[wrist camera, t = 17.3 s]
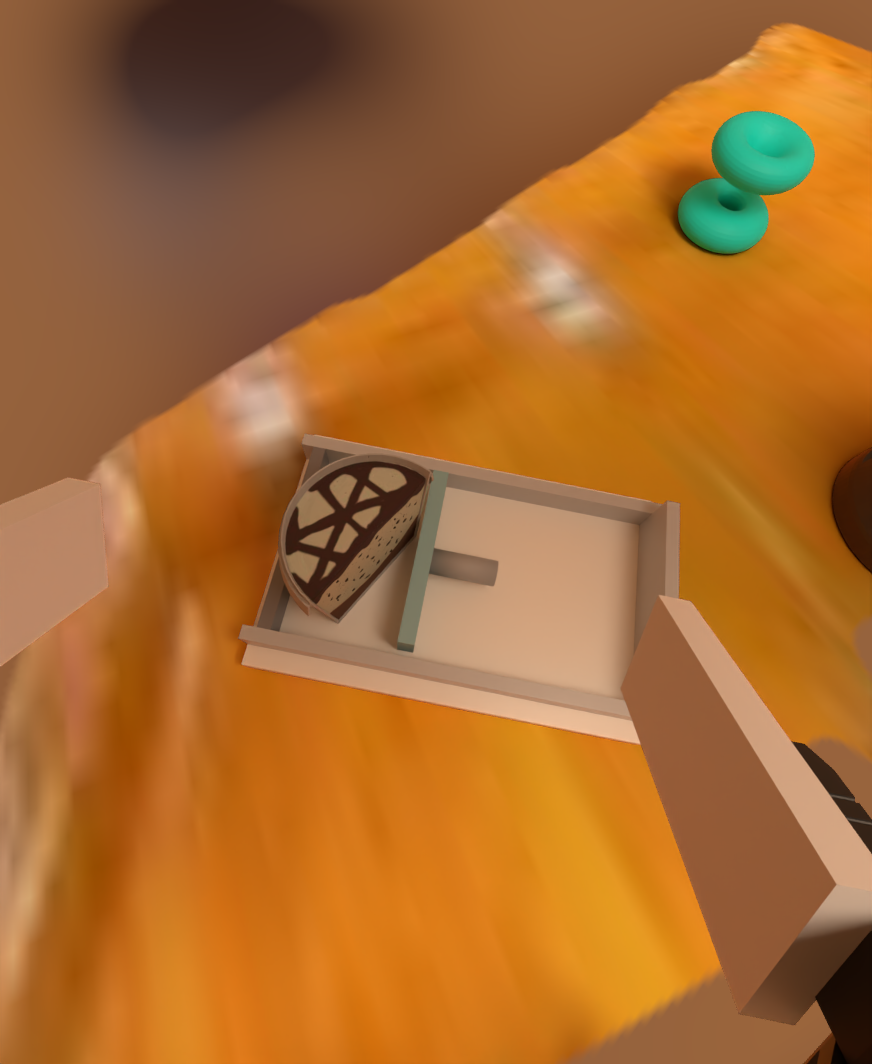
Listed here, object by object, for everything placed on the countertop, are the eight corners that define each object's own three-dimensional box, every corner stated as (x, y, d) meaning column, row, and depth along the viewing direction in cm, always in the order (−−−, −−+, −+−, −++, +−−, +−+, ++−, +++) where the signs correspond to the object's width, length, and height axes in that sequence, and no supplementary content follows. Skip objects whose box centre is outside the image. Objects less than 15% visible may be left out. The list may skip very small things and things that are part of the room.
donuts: (712, 149, 51) (733, 92, 54) (663, 240, 60) (684, 187, 63) (813, 184, 50) (828, 125, 53) (748, 271, 59) (764, 216, 63)
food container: (371, 480, 45) (364, 412, 35) (427, 523, 44) (436, 465, 34) (266, 588, 41) (227, 544, 31) (325, 638, 40) (302, 608, 30)
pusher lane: (644, 508, 47) (680, 474, 41) (634, 744, 40) (676, 745, 34) (316, 443, 47) (304, 400, 41) (246, 666, 40) (219, 654, 34)
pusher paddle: (503, 503, 44) (511, 484, 41) (478, 665, 39) (486, 659, 36) (431, 489, 44) (433, 469, 41) (397, 649, 39) (397, 641, 36)
